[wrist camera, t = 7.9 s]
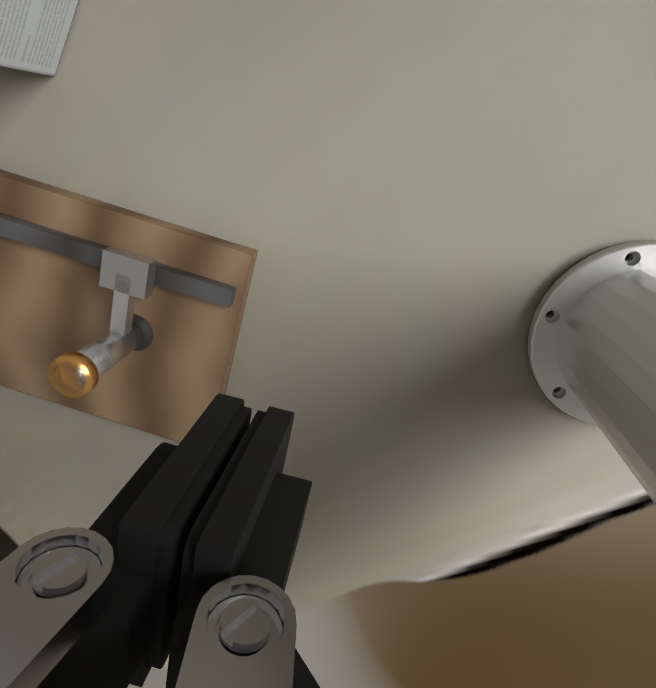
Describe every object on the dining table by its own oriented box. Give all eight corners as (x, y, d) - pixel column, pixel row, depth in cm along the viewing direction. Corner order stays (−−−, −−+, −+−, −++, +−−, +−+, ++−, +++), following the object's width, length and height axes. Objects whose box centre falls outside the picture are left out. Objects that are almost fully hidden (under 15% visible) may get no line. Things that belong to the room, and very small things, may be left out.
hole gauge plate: (257, 250, 33) (212, 285, 25) (214, 440, 39) (166, 518, 31) (-52, 153, 33) (-200, 155, 25) (-46, 357, 39) (-163, 413, 31)
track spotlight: (163, 257, 32) (105, 285, 26) (147, 357, 35) (92, 404, 28) (119, 243, 32) (50, 268, 26) (107, 344, 35) (43, 389, 28)
